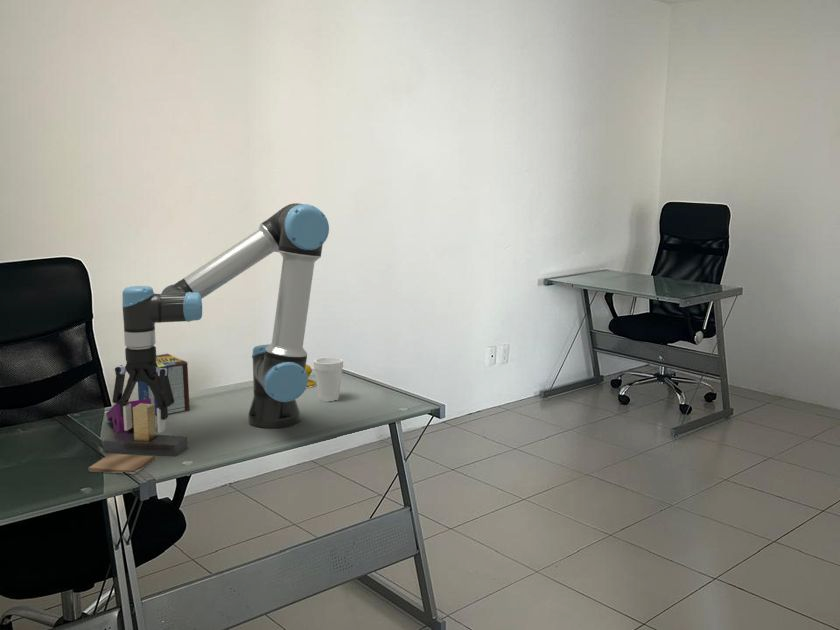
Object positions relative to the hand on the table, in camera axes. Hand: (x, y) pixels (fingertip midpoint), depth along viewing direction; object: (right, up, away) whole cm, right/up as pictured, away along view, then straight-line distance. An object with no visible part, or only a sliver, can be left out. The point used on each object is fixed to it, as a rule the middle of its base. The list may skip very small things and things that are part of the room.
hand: (144, 429), depth 203 cm
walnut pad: (-2, -7, -11) cm, 13 cm away
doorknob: (+32, +5, +66) cm, 74 cm away
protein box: (-8, +1, +38) cm, 39 cm away
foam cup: (+43, +3, +50) cm, 65 cm away
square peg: (0, -5, +1) cm, 5 cm away
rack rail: (0, -5, +1) cm, 5 cm away
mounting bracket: (-12, -2, +20) cm, 23 cm away
